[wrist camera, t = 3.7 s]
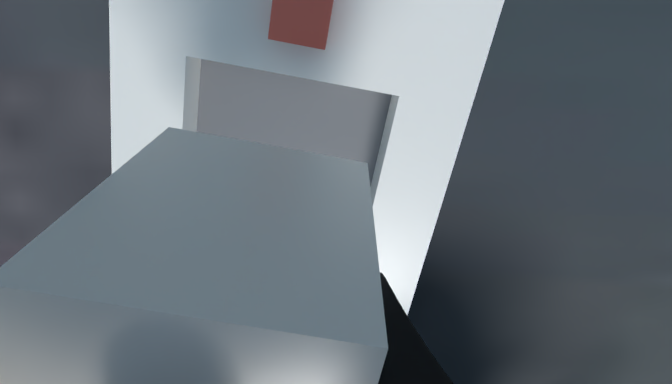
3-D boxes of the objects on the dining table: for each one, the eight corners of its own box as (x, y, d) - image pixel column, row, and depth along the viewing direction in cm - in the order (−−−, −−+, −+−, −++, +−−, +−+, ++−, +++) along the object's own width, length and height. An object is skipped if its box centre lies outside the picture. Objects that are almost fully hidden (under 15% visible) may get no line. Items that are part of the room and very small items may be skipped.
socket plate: (496, -41, 15) (527, -43, 12) (387, 333, 21) (392, 383, 19) (137, -115, 14) (92, -133, 12) (134, 293, 20) (104, 338, 18)
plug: (367, 162, 11) (396, 423, 5) (332, 319, 13) (316, 664, 6) (168, 126, 11) (-99, 348, 4) (161, 292, 12) (-34, 621, 6)
